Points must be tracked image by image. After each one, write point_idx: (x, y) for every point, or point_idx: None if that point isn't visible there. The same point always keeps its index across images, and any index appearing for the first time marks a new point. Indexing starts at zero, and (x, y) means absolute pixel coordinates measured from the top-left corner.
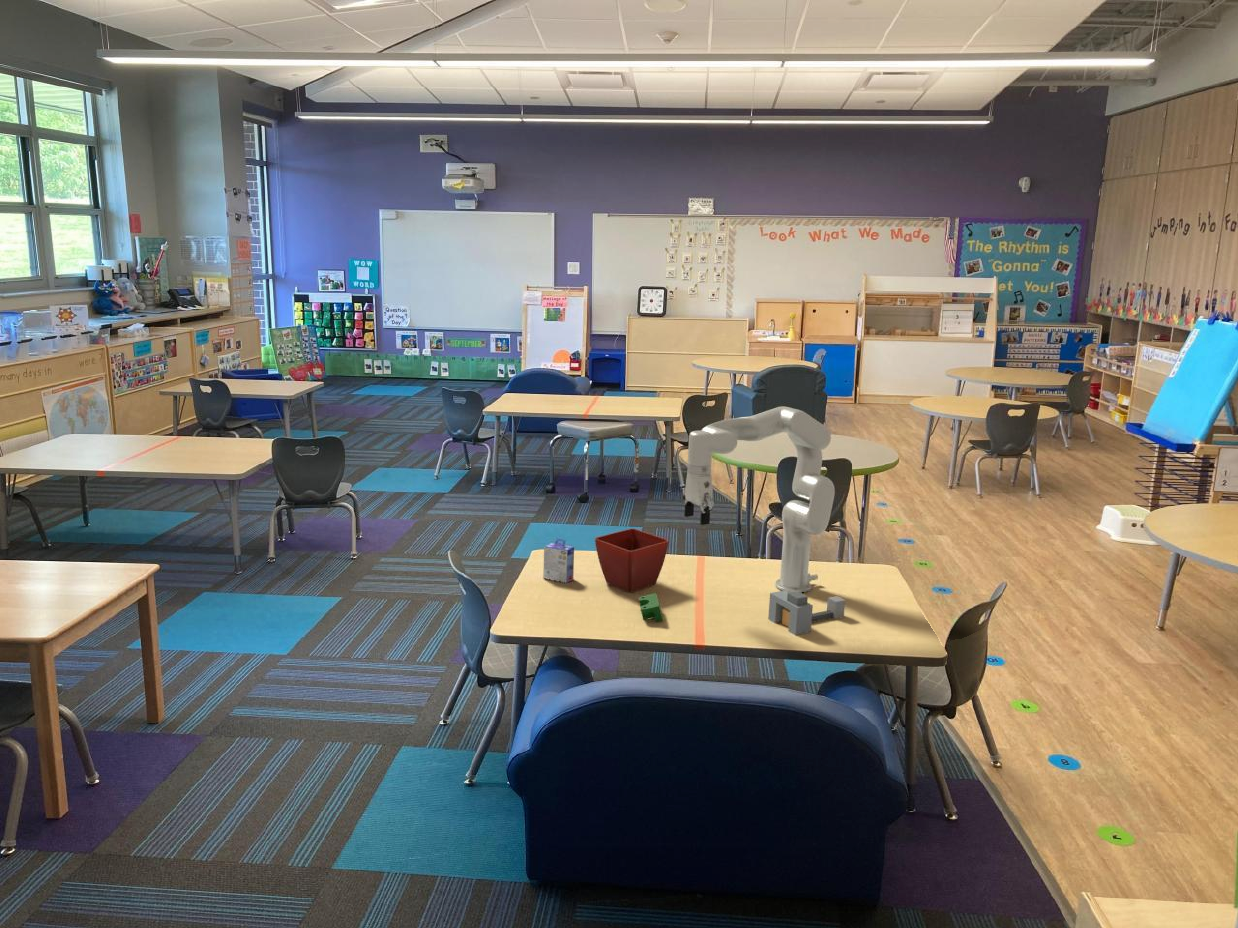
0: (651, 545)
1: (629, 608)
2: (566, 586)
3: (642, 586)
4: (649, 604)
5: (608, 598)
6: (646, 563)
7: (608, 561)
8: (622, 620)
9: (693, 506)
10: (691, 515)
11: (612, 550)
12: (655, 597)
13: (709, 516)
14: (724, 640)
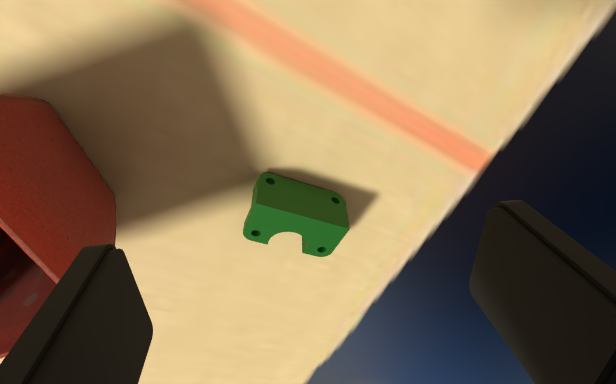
0: (8, 231)
1: (230, 232)
2: None
3: (87, 161)
4: (315, 238)
5: (149, 256)
6: (61, 201)
7: (11, 296)
8: (294, 265)
9: (48, 381)
10: (128, 273)
11: (12, 336)
12: (285, 215)
13: (595, 264)
14: (507, 99)
